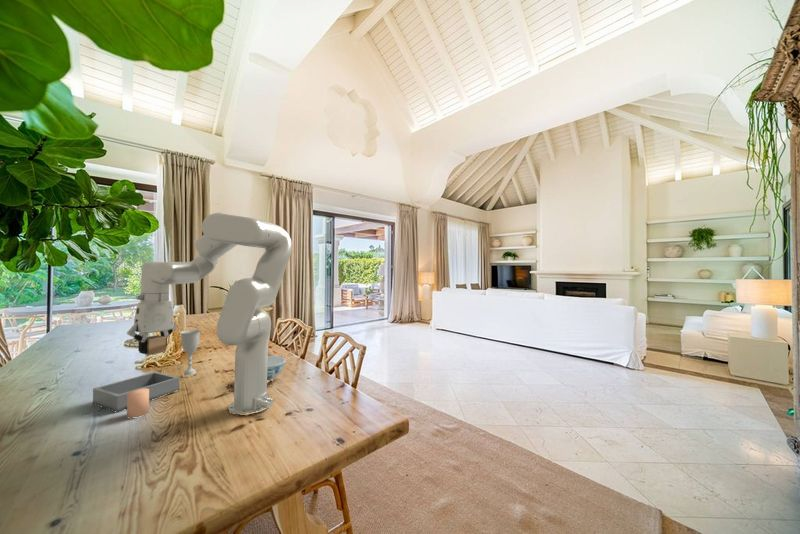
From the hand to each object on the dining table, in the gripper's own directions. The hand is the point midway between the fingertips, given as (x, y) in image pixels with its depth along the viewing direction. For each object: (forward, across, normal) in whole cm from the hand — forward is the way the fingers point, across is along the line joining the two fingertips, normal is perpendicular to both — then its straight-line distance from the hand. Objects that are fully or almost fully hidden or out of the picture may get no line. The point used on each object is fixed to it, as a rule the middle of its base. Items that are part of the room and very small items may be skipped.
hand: (152, 350), depth 104 cm
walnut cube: (+1, 0, 0) cm, 1 cm away
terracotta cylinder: (+16, -8, -10) cm, 21 cm away
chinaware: (+16, +29, -21) cm, 39 cm away
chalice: (+16, +19, +10) cm, 27 cm away
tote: (+16, -2, +4) cm, 17 cm away
